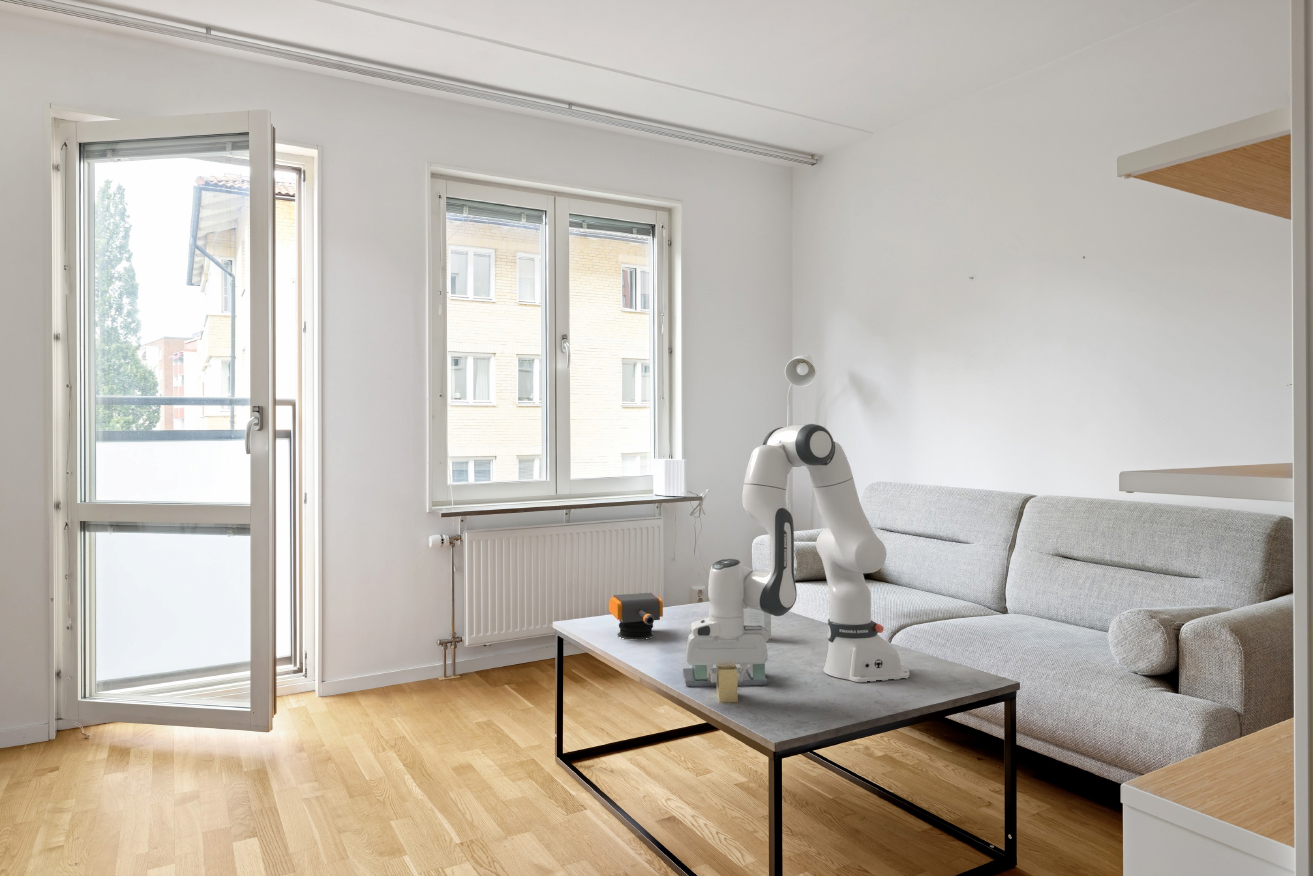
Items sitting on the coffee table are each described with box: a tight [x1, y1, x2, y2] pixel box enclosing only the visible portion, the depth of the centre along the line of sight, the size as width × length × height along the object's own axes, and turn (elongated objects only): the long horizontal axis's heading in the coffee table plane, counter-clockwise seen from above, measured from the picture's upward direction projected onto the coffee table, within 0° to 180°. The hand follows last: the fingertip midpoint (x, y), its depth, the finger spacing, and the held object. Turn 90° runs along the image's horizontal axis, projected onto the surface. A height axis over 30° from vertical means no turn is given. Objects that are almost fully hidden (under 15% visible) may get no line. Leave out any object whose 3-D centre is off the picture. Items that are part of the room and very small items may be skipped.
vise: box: [682, 663, 768, 687], centre depth 220 cm, size 21×11×8 cm, turn 92°
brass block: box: [715, 664, 739, 703], centre depth 206 cm, size 4×7×8 cm, turn 2°
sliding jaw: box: [691, 665, 709, 680], centre depth 220 cm, size 4×11×6 cm, turn 2°
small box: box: [743, 607, 772, 640], centre depth 262 cm, size 8×6×13 cm
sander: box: [608, 592, 664, 640], centre depth 263 cm, size 15×25×13 cm, turn 16°
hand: (726, 681), depth 206 cm, fingers open, 5 cm apart
